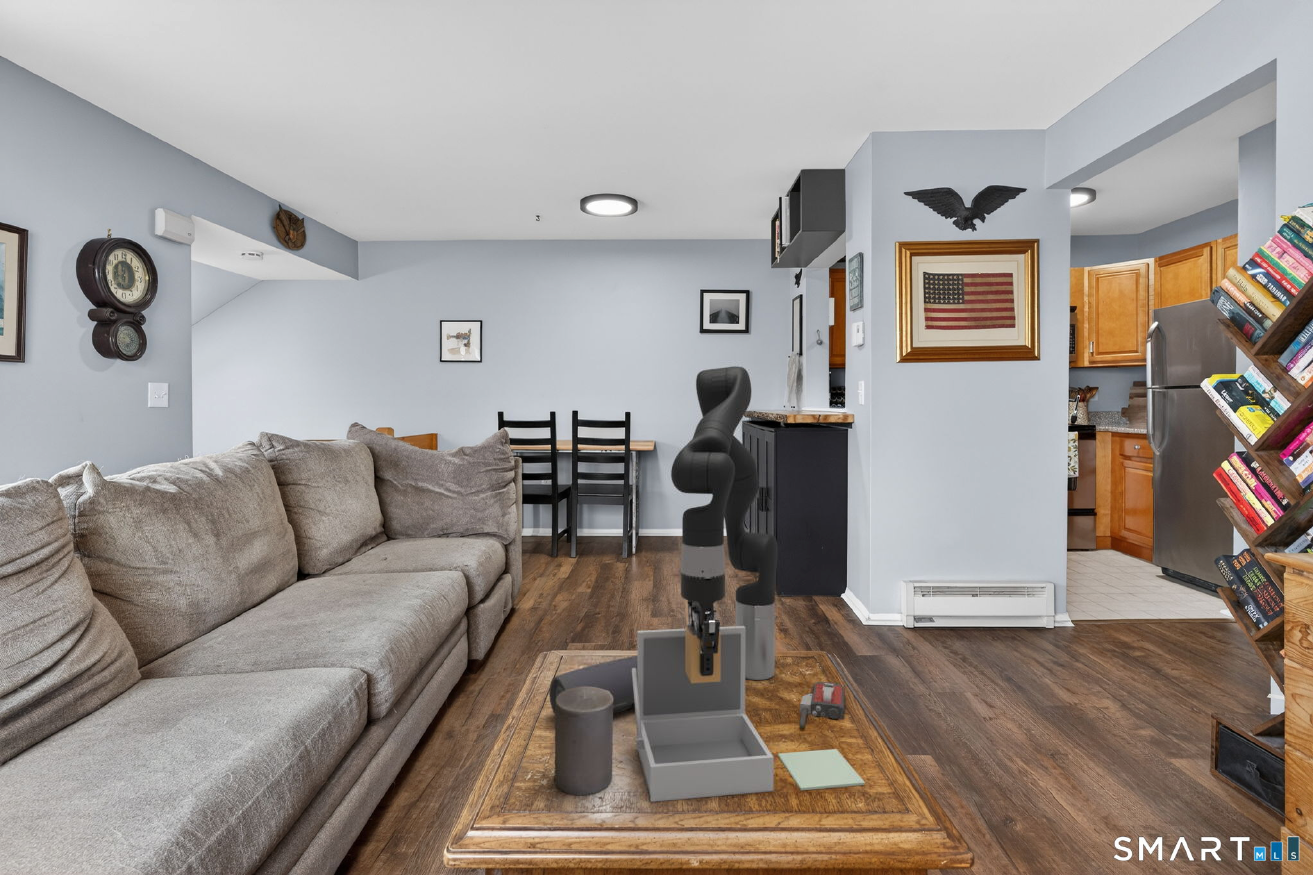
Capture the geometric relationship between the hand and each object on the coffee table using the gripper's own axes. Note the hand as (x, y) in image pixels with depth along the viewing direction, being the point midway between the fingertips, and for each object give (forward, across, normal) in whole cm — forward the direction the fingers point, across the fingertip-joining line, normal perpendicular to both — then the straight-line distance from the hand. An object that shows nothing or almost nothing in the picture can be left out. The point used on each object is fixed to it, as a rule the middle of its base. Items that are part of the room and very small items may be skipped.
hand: (702, 668), depth 111 cm
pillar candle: (+18, 0, -20) cm, 27 cm away
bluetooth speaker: (+18, -25, -14) cm, 34 cm away
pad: (+18, +3, +20) cm, 27 cm away
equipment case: (+17, -1, -1) cm, 18 cm away
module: (+1, 0, 0) cm, 1 cm away
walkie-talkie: (+18, -18, +30) cm, 39 cm away
